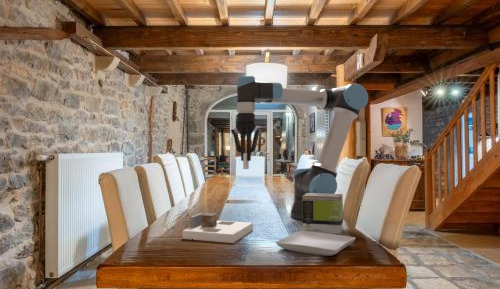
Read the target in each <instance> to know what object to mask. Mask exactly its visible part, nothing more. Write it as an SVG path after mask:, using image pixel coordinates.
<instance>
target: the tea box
mask: <svg viewBox="0 0 500 289" xmlns="http://www.w3.org/2000/svg"><path fill="white" fill-rule="evenodd" d="M343 199H344V198H343V194H342V193H335V194H320V193H307V194H305V195H303V196H302V219H301V220H302V223H301V225H302V231H306V232H317V233H327V234H335V235H341V233H342V232H343V228H344V215H343V214H344V210H343V209H344V207H343V206H344V203H343Z"/></svg>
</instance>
